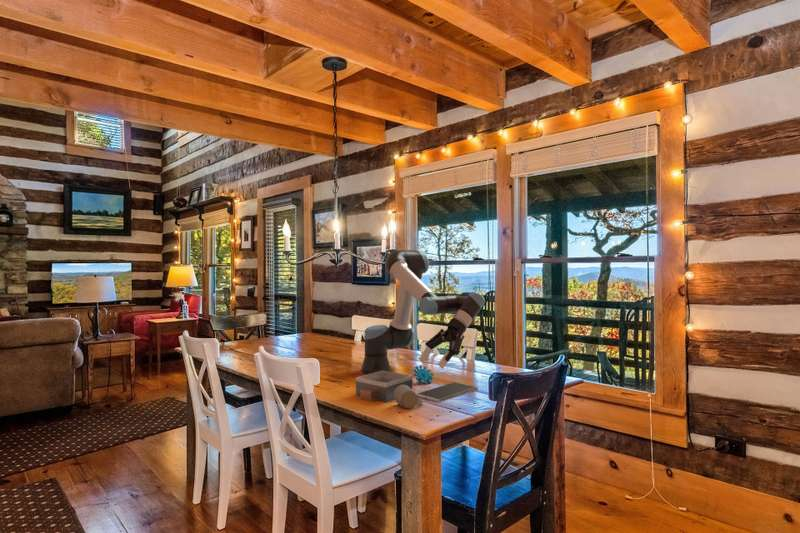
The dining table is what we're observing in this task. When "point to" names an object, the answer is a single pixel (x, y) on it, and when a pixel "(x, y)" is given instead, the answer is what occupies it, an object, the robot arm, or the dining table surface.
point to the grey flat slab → (447, 392)
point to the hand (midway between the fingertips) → (430, 363)
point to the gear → (423, 374)
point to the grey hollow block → (381, 385)
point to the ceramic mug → (406, 397)
